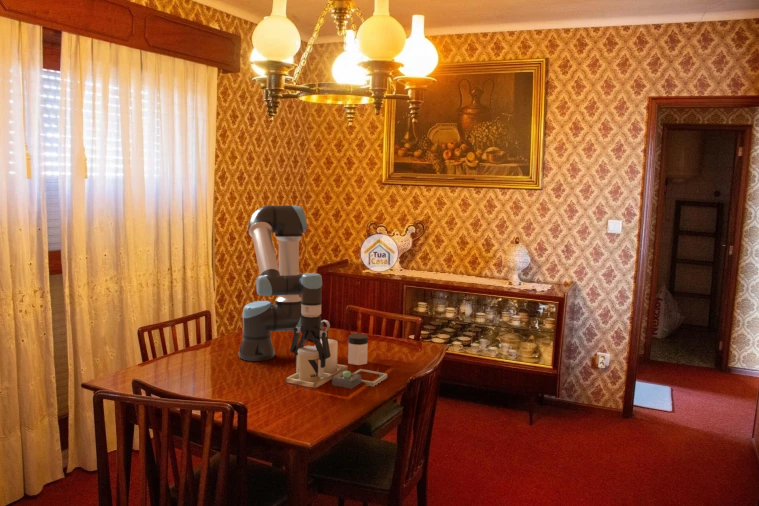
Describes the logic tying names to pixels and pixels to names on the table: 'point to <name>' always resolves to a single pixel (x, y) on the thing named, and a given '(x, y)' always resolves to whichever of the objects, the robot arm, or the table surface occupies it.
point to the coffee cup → (308, 363)
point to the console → (346, 380)
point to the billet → (331, 357)
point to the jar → (357, 349)
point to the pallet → (323, 379)
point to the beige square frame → (370, 383)
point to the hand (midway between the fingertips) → (309, 373)
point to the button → (346, 374)
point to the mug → (322, 326)
